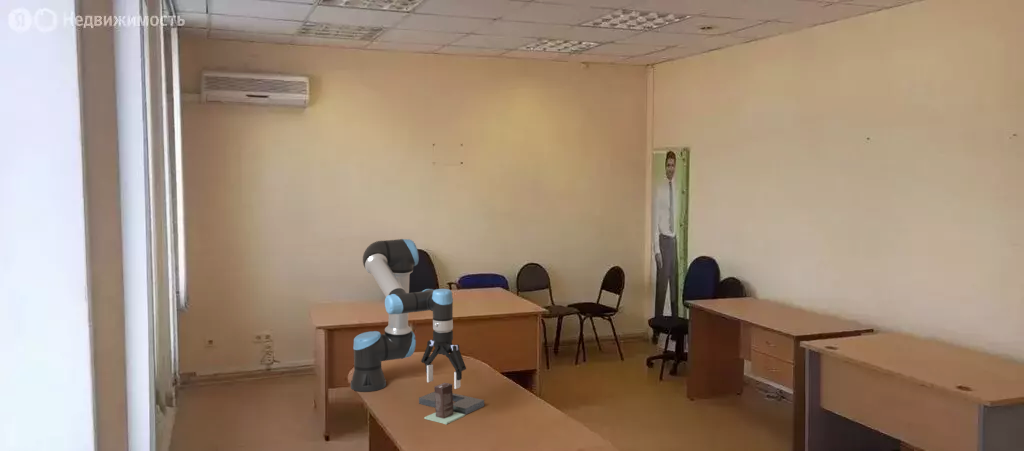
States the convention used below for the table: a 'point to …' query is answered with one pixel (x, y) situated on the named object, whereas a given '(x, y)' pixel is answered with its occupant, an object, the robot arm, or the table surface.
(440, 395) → the box
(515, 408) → the table surface
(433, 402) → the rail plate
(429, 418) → the pad
